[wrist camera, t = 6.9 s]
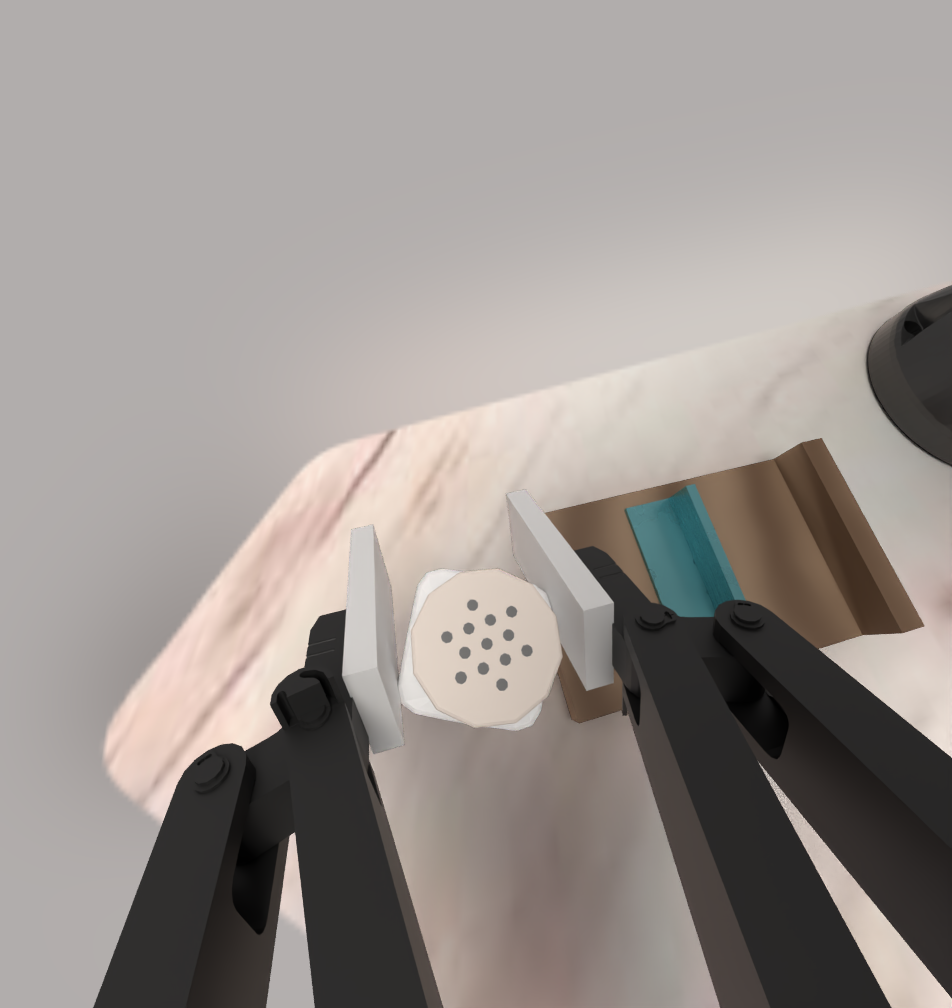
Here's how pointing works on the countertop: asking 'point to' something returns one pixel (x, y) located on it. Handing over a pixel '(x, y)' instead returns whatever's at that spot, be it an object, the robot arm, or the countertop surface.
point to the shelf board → (762, 554)
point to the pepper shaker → (479, 649)
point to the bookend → (683, 554)
